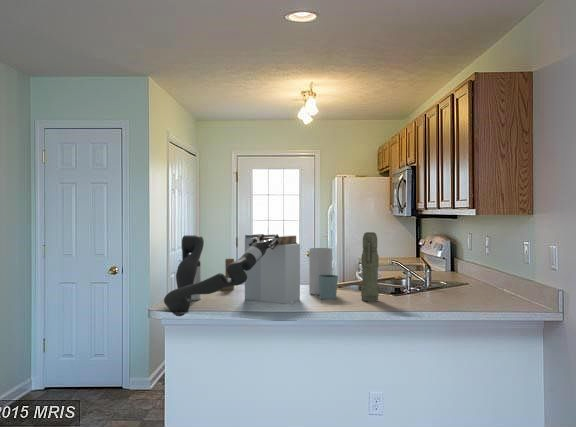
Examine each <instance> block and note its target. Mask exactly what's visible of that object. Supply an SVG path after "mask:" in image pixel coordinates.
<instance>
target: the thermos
mask: <svg viewBox="0 0 576 427" xmlns="http://www.w3.org/2000/svg"><path fill="white" fill-rule="evenodd" d="M360 256H361V260H360V261H361V269H362V270H361V273H362V275H361V276H362V278H361V282H362V283H361V289H360V296H361V300H363V301H362V302H365V301H376V300H378V301H379V296H380V294H379V293H380V292H379V287H378V286H379V285H378V280H379V279H378V276H379V274H378V273H379V272H378V270H379V269H378V268H379V267H380V266H379V260H380V259H379V258H380V257H379V254H378V236H377V233H375V232H374V231H373V232H372V231H371V232H370V231H369V232H365V233H363V236H362V254H361V255H360Z"/></svg>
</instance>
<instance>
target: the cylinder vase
mask: <svg viewBox="0 0 576 427" xmlns="http://www.w3.org/2000/svg"><path fill="white" fill-rule="evenodd" d="M308 258H309V260H308V261H309V262H308V265H309V267H308V270H309V274H308V276H309V278H308V279H309V282H308V283H309V284H308V285H309V286H308V287H309V294H310V295H314V296H320V290H319V275H333V249H332V248H331V247H311V248H309V257H308Z"/></svg>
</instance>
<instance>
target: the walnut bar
mask: <svg viewBox="0 0 576 427" xmlns="http://www.w3.org/2000/svg"><path fill="white" fill-rule="evenodd" d="M278 236H279V239H278V242H279V244H278V245H281V244H288V243H297V235H281V236H280V235H278ZM272 238H273V237H263V241H266V240H268V239H272ZM271 242H273V241H271ZM268 243H269V245H270V242H268Z"/></svg>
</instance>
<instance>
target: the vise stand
mask: <svg viewBox="0 0 576 427" xmlns="http://www.w3.org/2000/svg"><path fill="white" fill-rule="evenodd" d="M261 234H262V233H257V234H256V233H255V234H245V235H244V253H245V252H246V251H247V249H248V248H249V243H250V242H251V241H252V239H253V238H255V239H257V238H258V237H259V236H260V235H261ZM275 235H276V234H274V233H273V234H264V237H274V236H275ZM244 271H245V270H244ZM245 273H246V274H247V280H246V281H245V282H244V300H248V301H256V302H264V303H265V302H267V303H274V304H275V303H276V304H289V303H290V304H291V303H294V302H297V301H300V300H301V244H300V243H298V242H296V243H288V244H281V245H277V246H276V247H275V248H274V249H271V248H268V249H267V250H266V253H265V254H264V255H263V256H262V258H261V259H260V260H259V261H258V262H257V263H256V264H255V265H254V266H253V267H252V268H251V269H250V270H248V271H245Z"/></svg>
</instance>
